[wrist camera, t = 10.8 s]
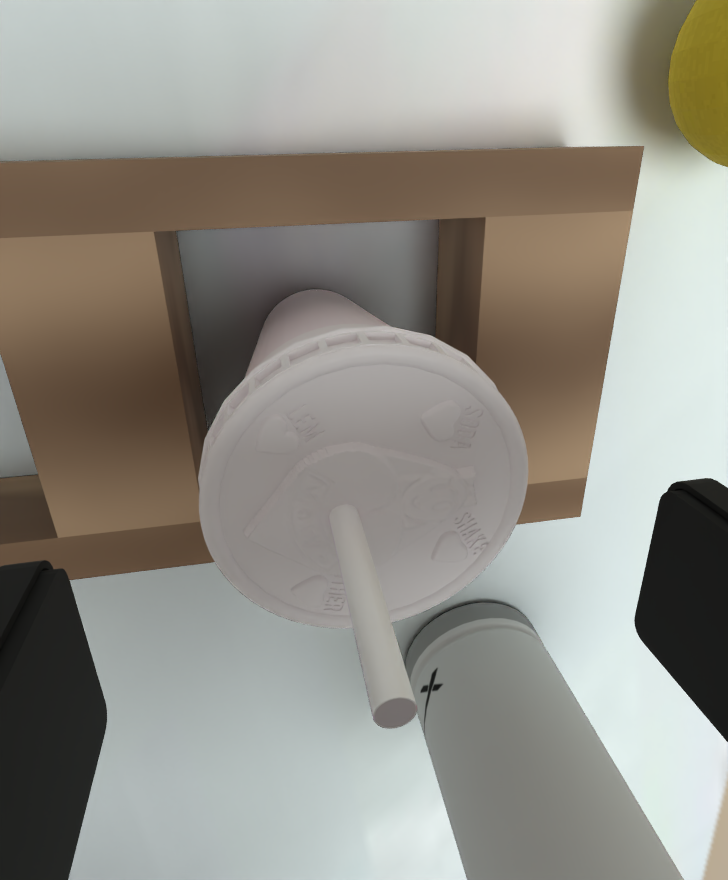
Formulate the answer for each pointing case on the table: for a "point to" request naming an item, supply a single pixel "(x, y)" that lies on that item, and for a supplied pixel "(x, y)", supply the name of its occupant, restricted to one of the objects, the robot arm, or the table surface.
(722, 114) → the lemon
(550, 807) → the travel mug
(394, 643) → the smoothie
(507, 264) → the wooden frame
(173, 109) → the table surface
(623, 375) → the table surface
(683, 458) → the table surface
